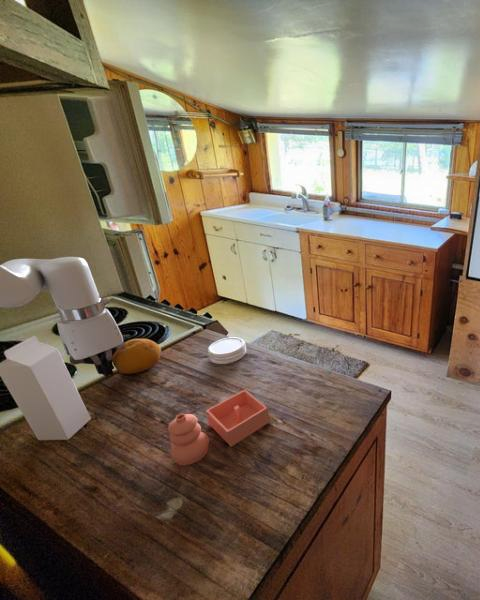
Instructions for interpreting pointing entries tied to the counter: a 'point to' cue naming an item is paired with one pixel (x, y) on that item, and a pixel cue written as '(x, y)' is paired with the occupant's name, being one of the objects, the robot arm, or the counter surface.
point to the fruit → (136, 356)
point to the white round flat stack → (227, 350)
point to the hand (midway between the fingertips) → (107, 373)
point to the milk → (43, 390)
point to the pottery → (216, 426)
